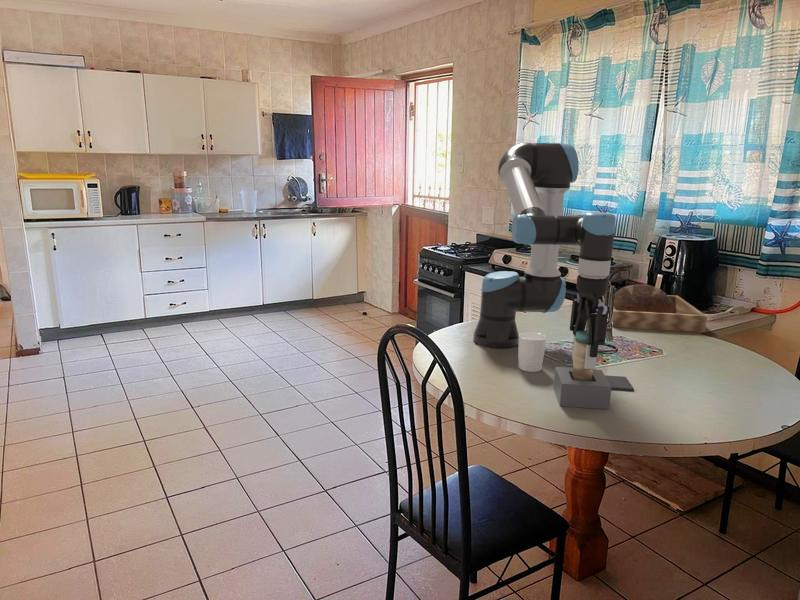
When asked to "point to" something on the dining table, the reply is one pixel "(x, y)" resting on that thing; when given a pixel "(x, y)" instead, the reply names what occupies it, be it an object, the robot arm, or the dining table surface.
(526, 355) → the white cup
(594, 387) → the socket
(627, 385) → the mat
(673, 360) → the dining table surface
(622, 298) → the bread
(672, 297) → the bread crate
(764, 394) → the dining table surface
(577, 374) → the plug
